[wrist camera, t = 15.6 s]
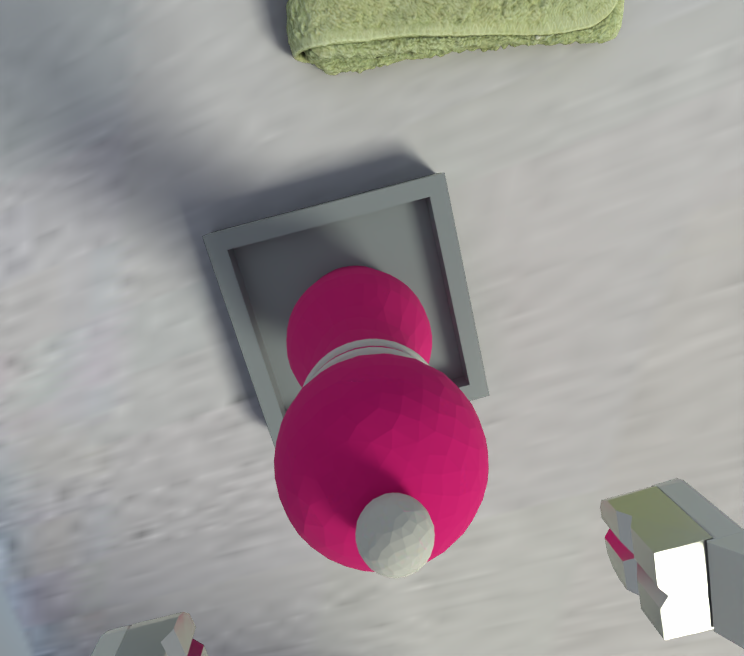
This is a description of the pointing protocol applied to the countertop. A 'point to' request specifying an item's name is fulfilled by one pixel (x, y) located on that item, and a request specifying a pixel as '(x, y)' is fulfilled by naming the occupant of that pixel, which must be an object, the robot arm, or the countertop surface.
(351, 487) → the pepper mill
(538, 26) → the washcloth
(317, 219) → the slate tray
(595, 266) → the countertop surface
